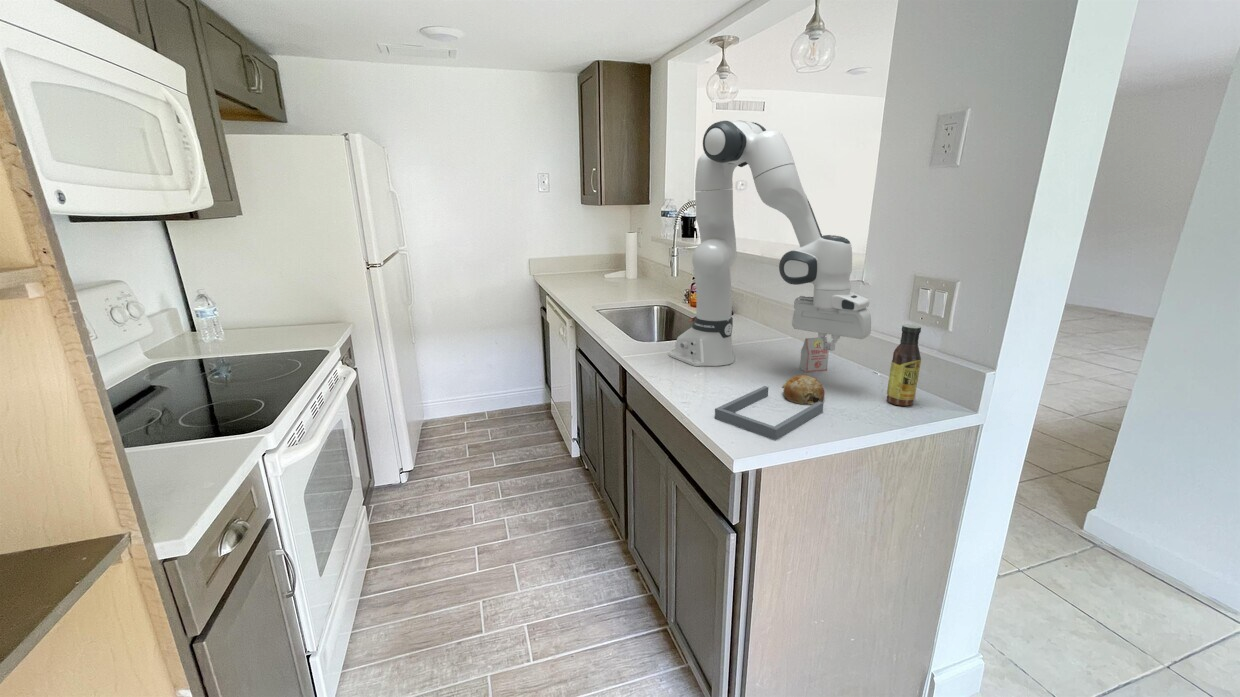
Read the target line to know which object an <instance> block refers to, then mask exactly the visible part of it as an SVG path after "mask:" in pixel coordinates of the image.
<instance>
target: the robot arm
mask: <svg viewBox="0 0 1240 697" xmlns="http://www.w3.org/2000/svg"><path fill="white" fill-rule="evenodd" d="M702 138H703V139H702V149H703V154H701V155H700V156H699V158H698V159H697V163H696V169H695V180H694V191H695V194H694V195H695V196H694V197H695V219H696V223H697V226H698V233H699V238H700V243H698V245H697V246H696V247H695V249H694V250H693V254H692V256H691V257H692V260H691V264H692V267H693V273H694V274H693V275H694V283H695V290H696V291H695V292H696V304H695V305H696V306H695V307H696V308H695V309H696V310H695V311H696V312H695V316H694V317H692V318H689V323H692V325H691V327H690V328H688V329H687V330H686V331H684V332H683V333H681V334H680V335H678V336H677V339H676V341H675V347H674V348H672V349H670V350H669V351H668V354H667V355H668V357H671V358H674V359H676V360H679V361H681V362H683V363H686V364H689V365H691V366H694V367H703V366H704V367H706V366H707V367H708V366H709V367H710V366H711V367H719V366H726V365H731V364H733V363H734V362H735V361H736V356H735V355H734V354H735V353H734V349H733V340H732V334H733V333H732V332H733V326H734V324H733V322H734V319H733V317H732V313H733V307H732V306H733V290H732V281H731V280H732V279H731V267H732V266H733V265H734V263H735V262H736V258H737V254H738V253H737V252H738V251H737V241H736V240H737V239H736V230H735V222H734V220H735V219H734V192H733V191H734V189H733V188H734V187H733V186H734V185H733V184H734V183H733V178H734V177H733V175H734V171H735V169H736V168H738V167H739V168H743V167H745V166H747V165H748V166H749V169H750V171H751V175H752V179H753V182H754V187H755V190H756V193H757V195H758V197H759V198H760V200H761V201H762V202H763V204H765V205H766V206H767V207H769V208H772V209H773V210H774V209H775V210H777V211H778V212H780V213H782V214H783V215H784V216H785V217H786V218H787V219H788V220H789V221H790V223H791V226H792V228H793V230H794V231H793V232H794V234H795V236H796V239H797V241H798V244H799V247H797V248H794V249H791V250H789V251H787V252H785V253H784V254H783V255H782V257H781V258H780V260H779V263H778V264H779V265H778V270H779V274H780V275H779V276H781V278H782V279H783V281H785V283H787V284H789V285H795V286H798V285H799V286H800V285H804V284H805V285H806V284H813V295H812V296H804V295H800V296H799V297H796V298H795V300H794V301H793V308H794V310H793V314H792V321H791V326H792V328H793V329H794V330H798V331H799V330H800V331H805V332H811V333H817V338H818V337H819V339H820V341H821V343H822V349H824V350H828V351H829V352H830V351H832V352H834V351H835V350H836V344H838V341H839V340H840V339H841V337H843V338H844V337H845V338H851V339H857V340H864V339H866V338H868V337H869V336H871V335H870V334H872V316H871V315H872V314H871V312H870V310H869V309H868V307H870V299H869V298H867V297H864V296H862V295H859V294H857V293H855V292H852V291H851V288H852V287H851V283H850V279H851V278H850V277H851V274H852V271H853V248H852V244H851V241H850V240H849V239H848V238H846V237H844V236H841V235H832V234H826V235H825V234H824V235H823V234H822V231H821V229H820V227H819V224H818V221H817V218H816V216H815V213H814V211H813V207H812V205H811V203H810V201H809V198H808V196H807V194H806V193H805V190H804V188H803V186H802V182H801V179H800V177H799V174H798V171H797V167H796V164H795V160H794V156H793V155H792V152H791V149H790V147H789V144H788V143H787V140H786V139H785V137H784V136H783V133H781V132H780V131H779V130H776V129H766V128H765V127H764V126H763V125H761V124H759V123H758V122H752V121H746V120H739V119H738V120H730V121H729V120H720V121H716V122H714V123H713V124H711V125H709V127H708V128H707V129H706V131H705V132H704V134H703V137H702ZM827 335H830V336H831V339H832V340H831V342H829V341H828V339H827V340H826V338H825V337H827Z"/></svg>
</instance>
